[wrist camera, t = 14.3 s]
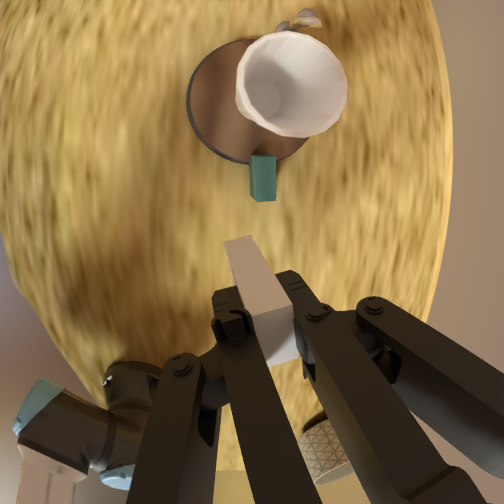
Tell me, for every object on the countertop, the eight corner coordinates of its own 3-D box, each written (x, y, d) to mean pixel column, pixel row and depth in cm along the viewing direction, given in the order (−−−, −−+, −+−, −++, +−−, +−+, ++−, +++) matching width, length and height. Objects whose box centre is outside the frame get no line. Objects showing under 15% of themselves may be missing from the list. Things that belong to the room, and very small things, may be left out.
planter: (282, 434, 68) (301, 484, 52) (336, 400, 66) (364, 451, 49) (313, 444, 76) (331, 485, 60) (359, 414, 74) (383, 455, 58)
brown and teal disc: (195, 199, 36) (196, 207, 32) (189, 43, 27) (190, 32, 23) (315, 191, 39) (328, 198, 35) (314, 48, 30) (327, 41, 27)
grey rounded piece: (276, 41, 30) (299, 21, 22) (275, 21, 28) (297, -3, 21) (300, 44, 31) (328, 26, 23) (299, 24, 29) (325, 3, 21)
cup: (202, 106, 30) (210, 89, 18) (251, 49, 28) (284, 10, 16) (267, 151, 34) (307, 161, 22) (310, 95, 32) (367, 83, 20)
